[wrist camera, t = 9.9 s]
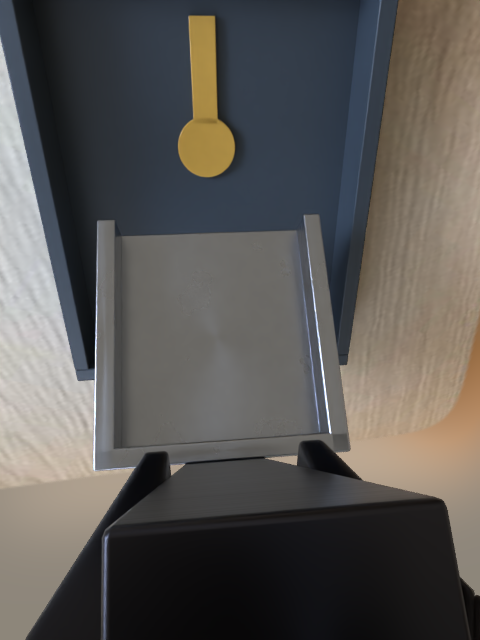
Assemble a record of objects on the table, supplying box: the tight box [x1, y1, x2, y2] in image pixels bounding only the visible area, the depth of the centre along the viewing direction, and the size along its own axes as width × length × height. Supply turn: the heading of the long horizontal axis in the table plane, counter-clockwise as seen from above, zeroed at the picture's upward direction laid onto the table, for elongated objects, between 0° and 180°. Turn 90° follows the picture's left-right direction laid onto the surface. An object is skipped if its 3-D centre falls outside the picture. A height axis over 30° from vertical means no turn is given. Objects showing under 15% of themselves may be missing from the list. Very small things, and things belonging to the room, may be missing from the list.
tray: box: [0, 0, 398, 381], centre depth 17 cm, size 15×12×2 cm
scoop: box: [93, 214, 471, 640], centre depth 10 cm, size 10×8×12 cm
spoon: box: [178, 16, 235, 177], centre depth 16 cm, size 5×2×1 cm, turn 0°
